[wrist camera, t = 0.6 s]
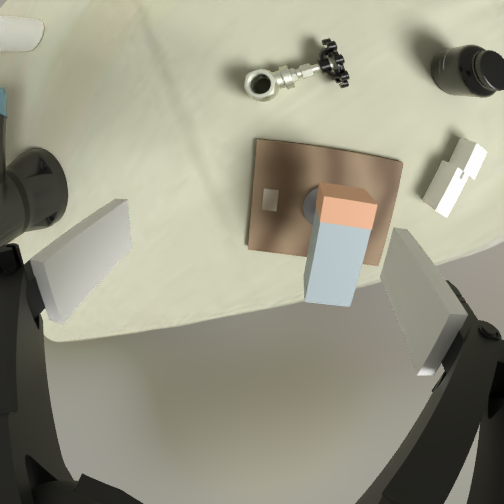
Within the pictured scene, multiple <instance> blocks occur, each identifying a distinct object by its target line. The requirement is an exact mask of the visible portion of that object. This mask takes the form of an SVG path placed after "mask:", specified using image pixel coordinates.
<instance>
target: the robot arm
mask: <svg viewBox="0 0 504 504" xmlns="http://www.w3.org/2000/svg"><path fill="white" fill-rule="evenodd" d="M6 101H7V94H6V91H5V90H4V89H3V88H2V87H0V504H143V503H141V502H140V501H138V500H136V499H135V498H133V497H132V496H130V495H128V494H127V493H125V492H124V491H122V490H120V489H118V488H115V487H112V486H110V485H107V484H105V483H102V482H100V481H98V480H95V479H93V478H91V477H89V476H86V475H84V474H82V475H81V477H80V479H79V481H74V480H73V478H72V476H71V475H70V473H69V471H68V470H67V468H66V466H65V464H64V461H63V458H62V455H61V451H60V447H59V443H58V439H57V434H56V429H55V424H54V419H53V414H52V408H51V402H50V395H49V389H48V381H47V373H46V363H45V352H44V335H43V320H42V317H41V314H40V313H41V312H42V311H43V310H44V309H46V312H47V315H48V317H49V320H51V321H54V322H57V323H60V324H64V323H65V321H66V320H67V319H68V318H69V317H70V316H71V314H72V313H73V312H74V311H75V310H76V309H77V307H78V306H79V305H80V304H81V303H82V302H83V301H84V299H85V298H86V297H87V296H88V295H89V294H90V293H91V292H92V291H93V289H94V288H95V287H96V286H97V285H98V284H99V283H100V282H101V281H102V280H103V278H104V277H105V276H106V275H107V274H108V273H109V272H110V271H111V270H112V269H113V268H114V267H115V266H116V265H117V264H118V263H119V261H120V260H121V259H122V258H123V257H124V256H125V255H126V254H127V253H128V252H129V251H130V250H131V249H132V240H131V230H130V221H129V210H128V200H127V199H114V200H113V201H111V202H110V203H108V204H106V205H105V206H103V207H102V208H100V209H99V210H97V211H96V212H94V213H93V214H91V215H90V216H88V217H87V218H85V219H84V220H83V221H81V222H80V223H78V224H77V225H75V226H74V227H72V228H71V229H70V230H68V231H67V232H65V233H64V234H63V235H61V236H60V237H59V238H57V239H56V240H55V241H53V242H52V243H50V244H49V245H48V246H46V247H45V248H44V249H43V250H41V251H40V252H39V253H37V254H36V255H35V256H34V257H32V258H31V259H30V260H29V261H28V262H27V263H25V264H23V260H22V256H21V253H20V249H19V245H17V244H14V243H11V244H8V243H9V242H11V241H12V240H14V239H15V238H16V237H18V236H19V235H21V234H22V233H24V232H27V231H33V230H39V229H44V228H47V227H50V226H51V225H53V224H54V223H56V222H57V221H59V220H60V219H61V217H62V216H63V214H64V212H65V209H66V206H67V200H68V189H67V182H66V178H65V175H64V172H63V170H62V168H61V166H60V164H59V162H58V161H57V160H56V158H55V157H54V156H53V155H52V154H51V153H49V152H48V151H46V150H44V149H39V148H36V149H32V150H29V151H26V152H24V153H22V154H21V155H19V156H18V157H17V158H16V159H15V160H14V161H13V162H12V163H11V164H9V165H8V166H7V167H6V168H5V132H6V118H7V113H6ZM380 278H381V280H382V283H383V285H384V288H385V290H386V292H387V295H388V297H389V300H390V302H391V305H392V307H393V309H394V312H395V315H396V318H397V320H398V323H399V325H400V328H401V331H402V333H403V336H404V339H405V342H406V344H407V347H408V350H409V353H410V356H411V359H412V362H413V365H414V368H415V371H416V374H417V375H434V374H435V373H436V371H437V370H438V368H439V366H440V365H441V363H442V365H443V367H444V370H445V372H444V373H443V375H442V376H441V378H440V379H439V381H438V382H437V384H436V385H435V387H434V388H433V390H432V392H433V393H432V395H431V397H430V398H429V400H428V402H427V404H426V406H425V408H424V409H423V411H422V412H421V414H420V416H419V417H418V419H417V421H416V422H415V424H414V426H413V427H412V429H411V430H410V432H409V433H408V435H407V437H406V438H405V440H404V441H403V443H402V444H401V446H400V447H399V449H398V450H397V451H396V453H395V454H394V456H393V457H392V459H391V460H390V461H389V463H388V464H387V465H386V467H385V468H384V469H383V471H382V472H381V473H380V474H379V476H378V477H377V478H376V480H375V481H374V482H373V483H372V485H371V486H370V487H369V488H368V490H367V491H366V492H365V493H364V494H363V495H362V497H361V498H360V499H359V500H358V501H357V502H356V503H355V504H444V502H445V500H446V499H447V497H448V495H449V493H450V491H451V489H452V487H453V485H454V483H455V481H456V479H457V477H458V475H459V473H460V471H461V469H462V467H463V464H464V462H465V460H466V457H467V455H468V453H469V450H470V448H471V445H472V443H473V441H474V437H475V435H476V433H477V430H478V427H479V424H480V431H479V440H478V448H477V455H476V461H475V467H474V473H473V478H472V483H471V488H470V493H469V497H468V501H467V504H504V340H502V339H501V335H500V333H499V331H498V330H497V329H496V328H495V327H494V326H493V325H491V324H490V323H488V322H485V321H481V320H478V319H477V318H476V316H475V315H474V313H473V311H472V310H471V308H470V307H469V305H468V304H467V303H466V301H465V299H464V298H463V297H462V295H461V294H460V292H459V291H458V289H457V288H456V287H455V286H454V285H453V284H451V283H450V282H449V281H447V280H445V279H444V278H443V276H442V275H441V273H440V272H439V270H438V269H437V268H436V266H435V265H434V264H433V262H432V261H431V259H430V258H429V257H428V255H427V254H426V253H425V251H424V250H423V249H422V247H421V246H420V245H419V244H418V242H417V241H416V240H415V238H414V237H413V236H412V235H411V233H410V232H409V231H408V230H407V229H401V228H393V232H392V236H391V240H390V244H389V247H388V251H387V255H386V258H385V262H384V265H383V269H382V272H381V275H380Z"/></svg>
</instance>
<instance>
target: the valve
mask: <svg viewBox="0 0 504 504" xmlns="http://www.w3.org/2000/svg"><path fill="white" fill-rule="evenodd" d="M322 44H323V45H327V48H323V50H321V52H320V54H319V58H320V59H318V60H317V64H315V65H311V66H310V64H309V63H307V64H304V65H301V66H299V69H294V68H291V69H288V67H287V65H285V66H282V67H279V70H278V71H275V72H271V71H269V70H265V69H263V68H260V69H257V70H254V71H252V72H249V73H247V74H246V78H245V84H244V90H245V91H246V92H247V94H248V95H249V96H250V97H251V98H252V99H254V100H256V101H259V102H266V101H269V100H271V99H273V98H274V97H275V96H276V95H277V94H278V92H279V90H280V89H281V88H284V87H287V89H290V88H293V87H295V84H294V82H295V81H298V79H299V78H301V77H303V79H305V78H308V77H312V76H314V73H315V72H319V71H320V72H321V73H322V74H326V75H327V76H328V77H330V78H333V79H335V82H336V83H340V82H342V83H340V84H339V85H340V87H341V88H344V87H348V86H349V84H348V81H347V80H348V79H349V74H348V72H347V71H346V70H345V69H344V66H343V63H345V61H344V58H343V56H342V55H341V54H340V55H339V54H338V52H337V45H336V43H335V41H331V40H330V39H329V38H328V39H324V40H322ZM324 55H325V56H326V55H328V57H324ZM333 71H334V72H335V74H333V73H331V72H333ZM262 78H267V79H269V80H271V87H270V89H269V90H268V91H267V92H266V93H263V94H258V93H257V92H256V90H255V84H256V82H257V81H258V80H260V79H262Z"/></svg>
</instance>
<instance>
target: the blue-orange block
mask: <svg viewBox="0 0 504 504" xmlns="http://www.w3.org/2000/svg"><path fill="white" fill-rule="evenodd" d="M376 210H377V203H376V202H375V201H374V200H373V198H372V197H371V196H370V195H369V193H368V192H367V191H366V190H365V189H361V188H355V187H349V186H343V185H337V184H330V183H324V182H319V186H318V193H317V199H316V209H315V215H314V221H313V227H312V233H311V239H310V244H309V250H308V256H307V261H306V266H305V272H304V297H305V302H311V303H320V304H329V305H339V306H349V307H350V304H351V301H352V298H353V294H354V291H355V288H356V284H357V281H358V278H359V274H360V270H361V267H362V263H363V260H364V256H365V252H366V248H367V244H368V240H369V236H370V232H371V230H372V227H373V223H374V219H375V214H376Z"/></svg>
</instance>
